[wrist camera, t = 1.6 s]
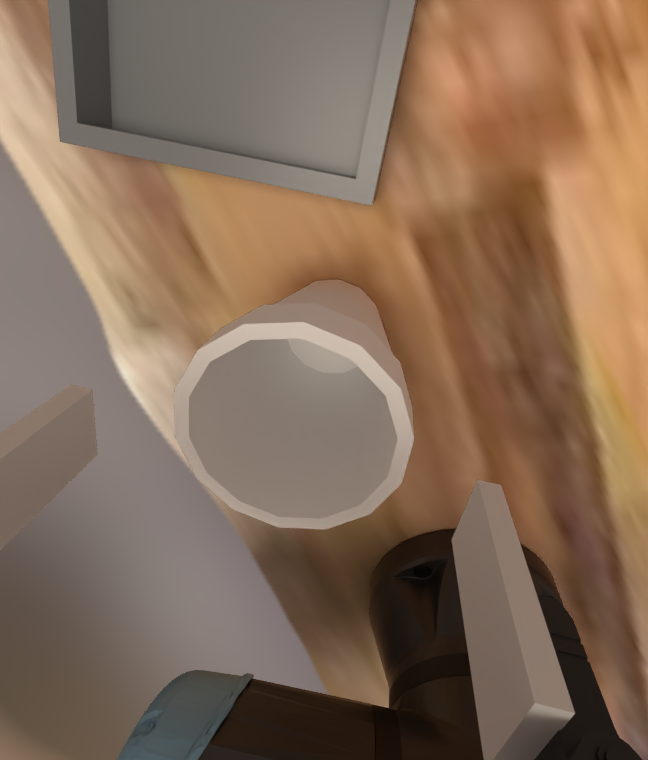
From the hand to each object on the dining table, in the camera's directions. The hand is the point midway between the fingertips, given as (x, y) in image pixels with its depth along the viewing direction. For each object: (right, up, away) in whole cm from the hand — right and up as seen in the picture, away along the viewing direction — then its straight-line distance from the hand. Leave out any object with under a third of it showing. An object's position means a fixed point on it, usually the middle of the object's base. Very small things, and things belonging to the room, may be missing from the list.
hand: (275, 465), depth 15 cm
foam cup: (+2, +6, +14) cm, 15 cm away
